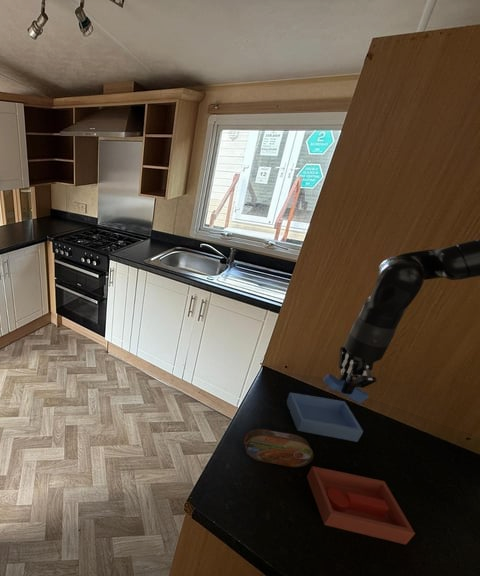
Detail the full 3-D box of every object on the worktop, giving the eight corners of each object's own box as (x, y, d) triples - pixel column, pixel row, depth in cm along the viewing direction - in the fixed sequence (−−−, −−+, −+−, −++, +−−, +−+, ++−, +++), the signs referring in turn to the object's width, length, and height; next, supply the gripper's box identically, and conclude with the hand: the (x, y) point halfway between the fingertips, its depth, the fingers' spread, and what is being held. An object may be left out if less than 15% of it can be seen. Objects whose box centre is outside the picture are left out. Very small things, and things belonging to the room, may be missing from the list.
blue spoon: (354, 395, 85) (363, 389, 84) (361, 406, 82) (371, 400, 80) (320, 376, 85) (329, 369, 84) (326, 386, 82) (335, 379, 80)
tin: (242, 457, 79) (249, 434, 75) (240, 446, 82) (247, 424, 78) (308, 471, 76) (319, 448, 72) (303, 459, 79) (314, 436, 75)
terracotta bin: (377, 492, 72) (384, 481, 70) (406, 544, 62) (415, 533, 61) (306, 476, 75) (311, 465, 73) (324, 524, 66) (330, 513, 64)
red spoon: (376, 503, 69) (381, 495, 68) (386, 522, 65) (392, 514, 64) (321, 491, 71) (325, 482, 70) (328, 509, 68) (333, 501, 66)
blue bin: (340, 411, 93) (345, 401, 91) (357, 442, 83) (363, 431, 81) (286, 402, 96) (289, 392, 94) (297, 430, 86) (301, 420, 85)
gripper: (405, 356, 69) (373, 412, 76) (372, 323, 81) (347, 375, 88) (366, 351, 70) (339, 406, 78) (339, 319, 82) (318, 370, 90)
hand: (343, 389), depth 83 cm, fingers closed on blue spoon
